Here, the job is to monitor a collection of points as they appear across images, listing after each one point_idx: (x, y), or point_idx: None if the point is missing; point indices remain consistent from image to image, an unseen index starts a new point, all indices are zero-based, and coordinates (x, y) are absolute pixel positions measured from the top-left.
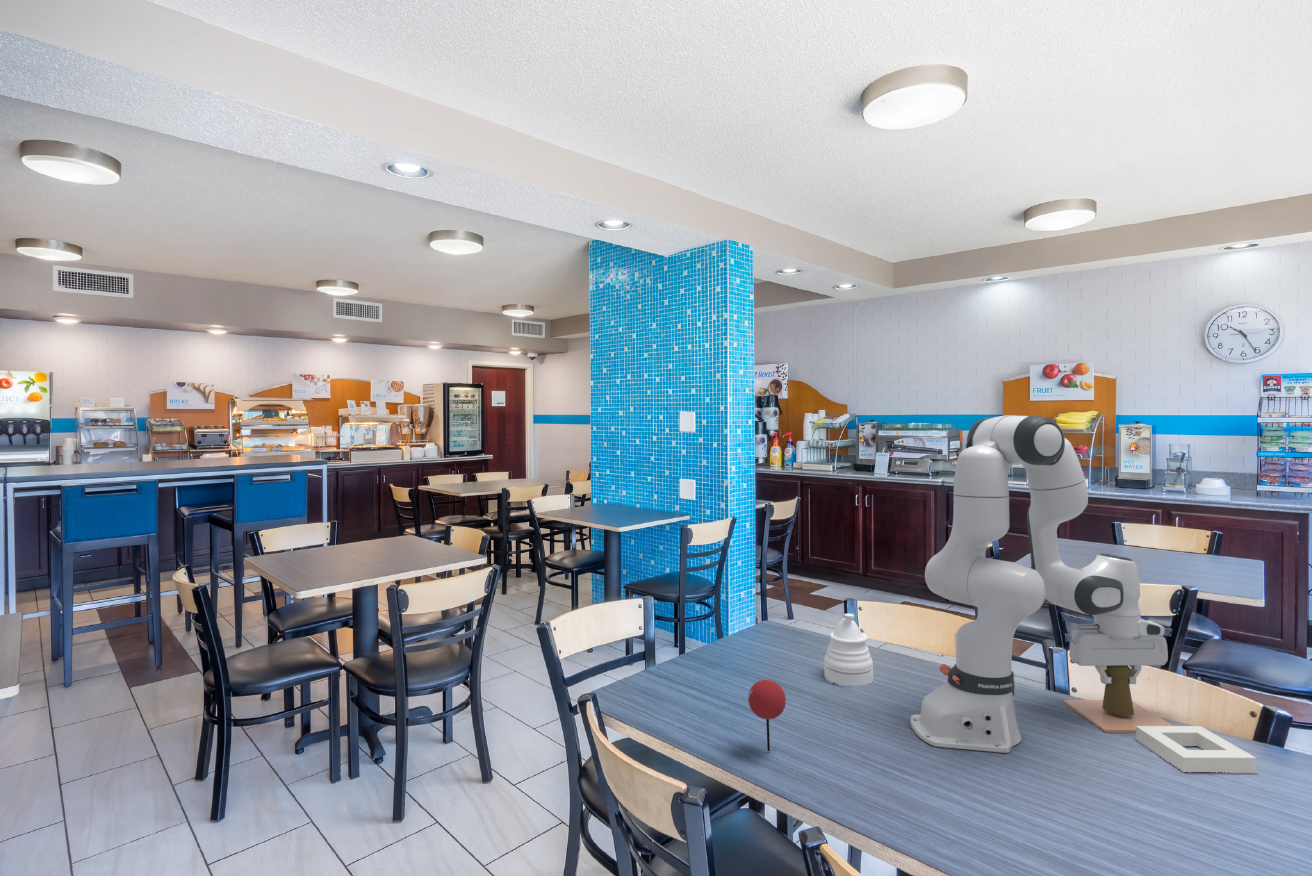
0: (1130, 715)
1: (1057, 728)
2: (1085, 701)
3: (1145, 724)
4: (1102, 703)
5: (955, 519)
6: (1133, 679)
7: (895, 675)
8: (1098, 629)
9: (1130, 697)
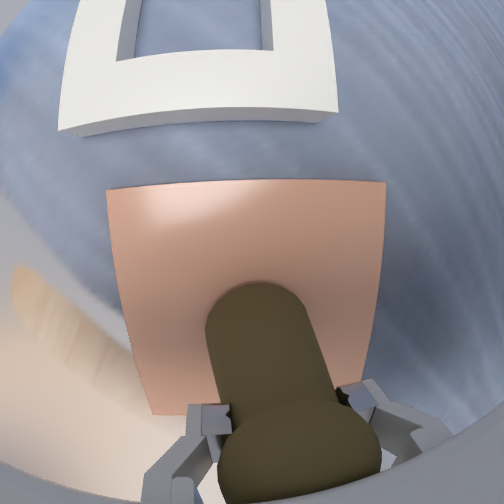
0: None
1: (464, 217)
2: None
3: (210, 233)
4: None
5: None
6: (205, 422)
7: (496, 401)
8: None
9: (232, 341)
